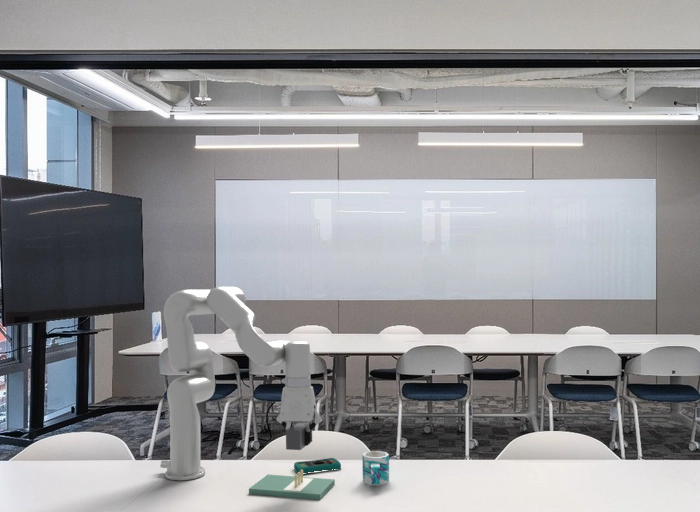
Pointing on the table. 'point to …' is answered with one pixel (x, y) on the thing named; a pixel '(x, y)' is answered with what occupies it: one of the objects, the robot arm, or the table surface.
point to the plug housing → (296, 437)
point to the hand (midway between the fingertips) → (299, 443)
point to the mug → (375, 467)
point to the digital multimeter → (317, 465)
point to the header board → (292, 486)
